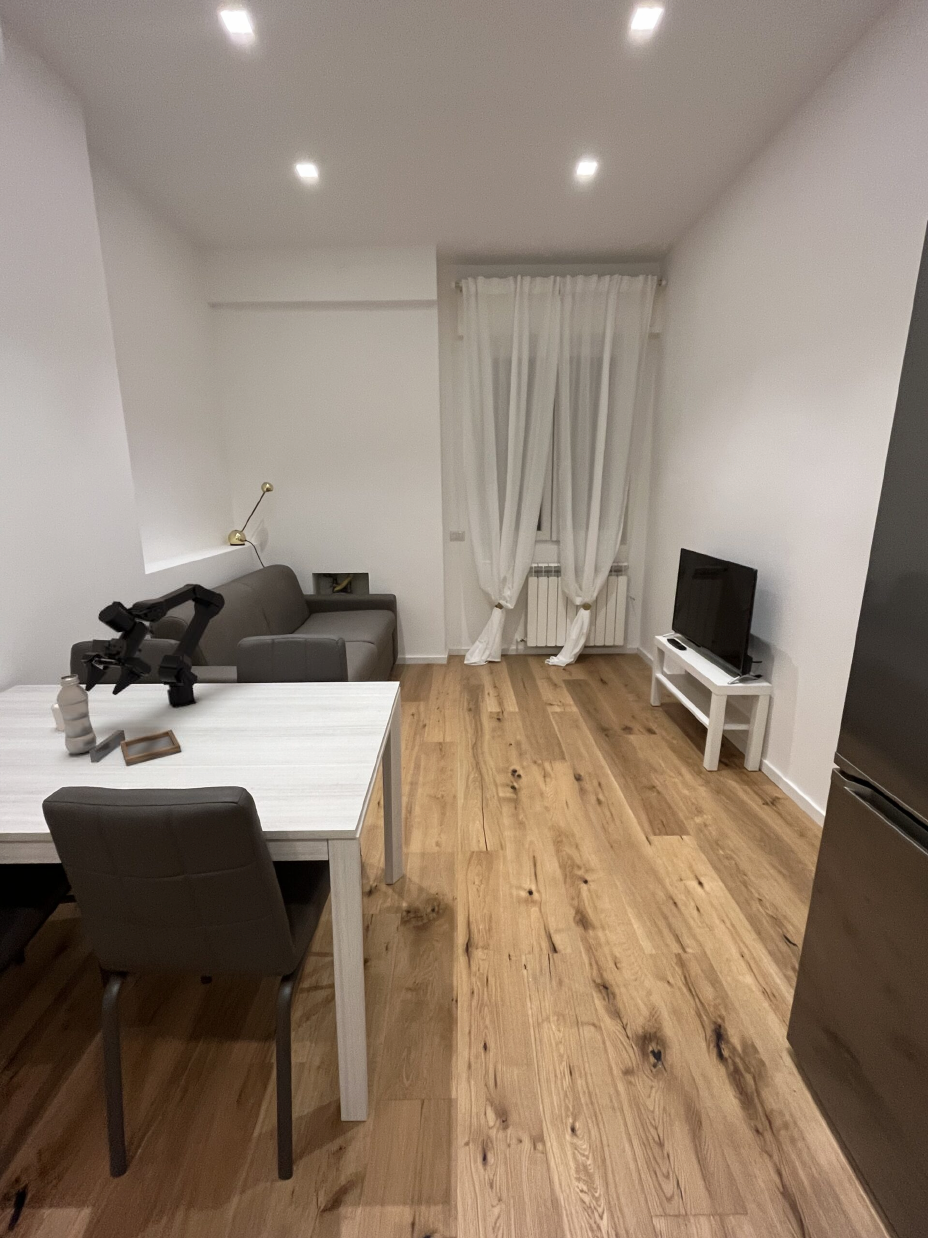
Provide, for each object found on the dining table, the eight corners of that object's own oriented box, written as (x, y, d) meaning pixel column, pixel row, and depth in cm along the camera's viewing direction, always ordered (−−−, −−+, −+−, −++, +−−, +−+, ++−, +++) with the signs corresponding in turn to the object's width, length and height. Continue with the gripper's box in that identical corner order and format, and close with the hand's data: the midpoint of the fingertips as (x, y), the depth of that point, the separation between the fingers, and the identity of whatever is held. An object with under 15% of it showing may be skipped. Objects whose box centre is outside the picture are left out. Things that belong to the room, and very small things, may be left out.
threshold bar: (119, 740, 146) (118, 729, 145) (125, 740, 146) (123, 729, 145) (91, 762, 134) (89, 750, 133) (97, 762, 134) (95, 750, 133)
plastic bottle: (104, 747, 142) (91, 674, 137) (78, 759, 136) (64, 682, 131) (86, 743, 144) (73, 671, 139) (60, 755, 138) (45, 680, 133)
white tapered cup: (69, 733, 150) (64, 709, 149) (48, 731, 152) (44, 707, 150) (90, 722, 157) (86, 700, 155) (70, 721, 158) (66, 698, 156)
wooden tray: (172, 735, 148) (171, 729, 148) (181, 751, 139) (180, 745, 139) (120, 747, 141) (119, 741, 141) (126, 766, 132) (125, 759, 132)
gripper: (81, 623, 147) (48, 675, 139) (136, 628, 142) (104, 682, 134) (111, 644, 156) (82, 694, 149) (164, 649, 151) (136, 701, 143)
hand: (100, 692), depth 143 cm, fingers open, 9 cm apart
